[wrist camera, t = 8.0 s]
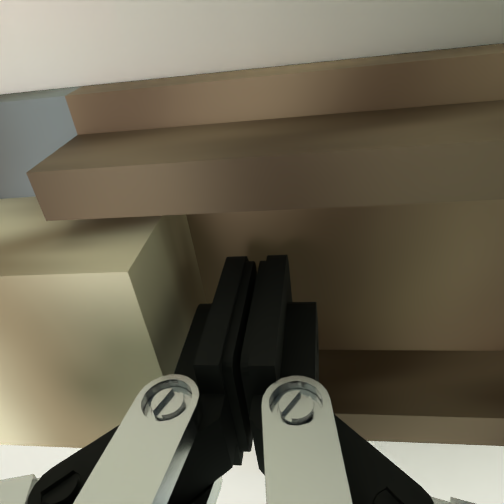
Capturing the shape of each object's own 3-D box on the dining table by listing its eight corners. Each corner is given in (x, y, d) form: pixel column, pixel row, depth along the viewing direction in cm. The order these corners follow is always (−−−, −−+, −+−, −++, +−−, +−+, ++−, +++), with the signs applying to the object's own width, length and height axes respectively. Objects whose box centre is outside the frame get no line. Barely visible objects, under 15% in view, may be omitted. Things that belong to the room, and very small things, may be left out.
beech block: (179, 186, 12) (127, 272, 9) (216, 346, 15) (188, 452, 12) (-14, 200, 13) (-124, 280, 10) (58, 346, 17) (-7, 444, 13)
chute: (675, 26, 10) (827, 55, 7) (554, 376, 16) (607, 471, 13) (-191, 114, 14) (-329, 157, 11) (-28, 367, 20) (-89, 439, 17)
